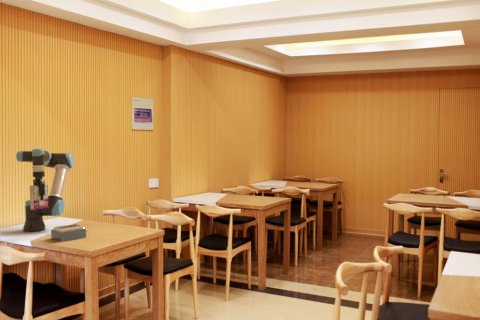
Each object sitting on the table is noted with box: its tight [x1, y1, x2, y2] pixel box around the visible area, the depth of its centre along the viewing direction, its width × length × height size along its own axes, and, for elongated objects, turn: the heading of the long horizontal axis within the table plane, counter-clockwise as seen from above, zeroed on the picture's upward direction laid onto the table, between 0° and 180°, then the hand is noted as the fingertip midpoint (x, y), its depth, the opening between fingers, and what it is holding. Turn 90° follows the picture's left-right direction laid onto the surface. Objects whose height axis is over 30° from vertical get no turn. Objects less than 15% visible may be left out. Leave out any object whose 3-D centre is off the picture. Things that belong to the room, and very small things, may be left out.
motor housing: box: [50, 223, 89, 243], centre depth 315 cm, size 14×23×8 cm, turn 137°
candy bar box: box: [29, 183, 49, 210], centre depth 315 cm, size 11×5×16 cm, turn 147°
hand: (39, 204), depth 316 cm, fingers closed on candy bar box, 6 cm apart
